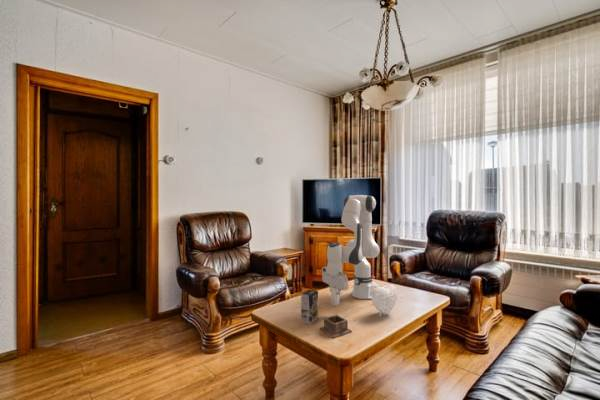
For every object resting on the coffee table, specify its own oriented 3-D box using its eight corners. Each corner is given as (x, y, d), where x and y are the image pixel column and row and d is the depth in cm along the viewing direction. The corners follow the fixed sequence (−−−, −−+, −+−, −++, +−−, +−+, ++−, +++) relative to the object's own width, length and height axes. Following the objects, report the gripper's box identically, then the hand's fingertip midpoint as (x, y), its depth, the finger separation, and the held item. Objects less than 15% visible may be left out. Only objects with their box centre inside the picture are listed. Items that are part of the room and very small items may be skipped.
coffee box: (310, 324, 163) (310, 295, 163) (300, 321, 167) (300, 293, 166) (318, 318, 171) (318, 290, 171) (308, 316, 175) (308, 288, 174)
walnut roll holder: (336, 323, 164) (336, 312, 164) (351, 332, 154) (351, 320, 154) (319, 329, 158) (319, 318, 158) (334, 338, 148) (334, 326, 148)
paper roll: (335, 301, 179) (335, 285, 178) (340, 303, 175) (340, 287, 174) (330, 303, 176) (329, 286, 176) (334, 305, 172) (334, 288, 172)
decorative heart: (380, 321, 168) (380, 291, 167) (367, 314, 177) (367, 286, 176) (401, 314, 177) (401, 285, 177) (387, 308, 186) (388, 281, 186)
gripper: (351, 273, 168) (351, 297, 168) (328, 265, 185) (328, 287, 185) (342, 275, 164) (343, 300, 165) (320, 267, 181) (320, 289, 182)
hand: (335, 293), depth 175 cm, fingers closed on paper roll, 4 cm apart
